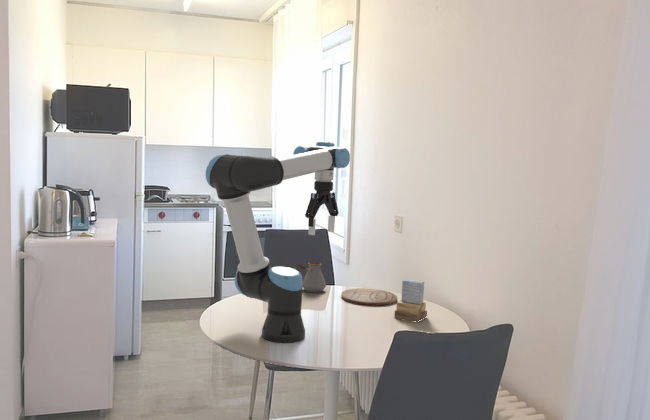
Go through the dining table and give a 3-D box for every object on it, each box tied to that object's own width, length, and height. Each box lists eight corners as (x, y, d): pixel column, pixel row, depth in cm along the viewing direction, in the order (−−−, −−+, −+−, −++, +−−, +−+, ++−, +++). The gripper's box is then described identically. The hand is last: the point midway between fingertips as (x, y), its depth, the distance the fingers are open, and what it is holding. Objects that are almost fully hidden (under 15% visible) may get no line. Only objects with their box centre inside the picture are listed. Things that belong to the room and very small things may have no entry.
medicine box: (423, 302, 228) (424, 281, 227) (420, 304, 224) (421, 283, 223) (404, 299, 231) (405, 278, 230) (401, 301, 227) (402, 280, 226)
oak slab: (417, 315, 222) (417, 306, 222) (396, 310, 227) (396, 302, 226) (425, 310, 229) (425, 302, 228) (404, 306, 233) (405, 298, 233)
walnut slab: (417, 324, 221) (417, 315, 221) (394, 319, 227) (394, 310, 226) (426, 319, 229) (427, 310, 229) (404, 314, 234) (404, 306, 234)
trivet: (338, 304, 244) (338, 300, 244) (343, 290, 269) (343, 286, 269) (397, 308, 241) (397, 304, 241) (396, 294, 266) (397, 290, 266)
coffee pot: (310, 286, 273) (311, 255, 271) (330, 290, 267) (332, 258, 265) (283, 294, 255) (285, 261, 253) (304, 299, 249) (306, 265, 247)
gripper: (313, 181, 215) (310, 237, 217) (348, 180, 236) (345, 231, 238) (297, 180, 219) (295, 235, 222) (333, 179, 240) (331, 229, 242)
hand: (321, 233), depth 230 cm, fingers open, 13 cm apart
